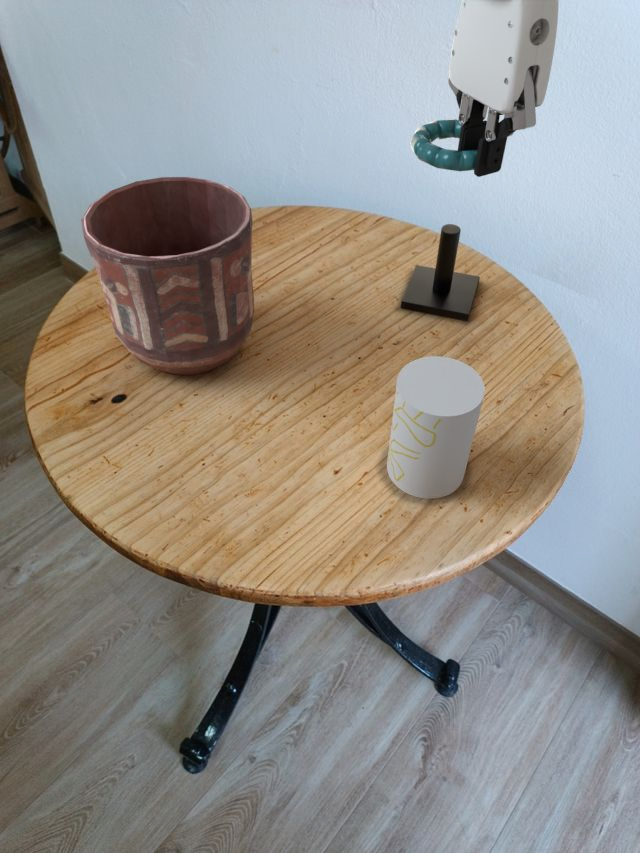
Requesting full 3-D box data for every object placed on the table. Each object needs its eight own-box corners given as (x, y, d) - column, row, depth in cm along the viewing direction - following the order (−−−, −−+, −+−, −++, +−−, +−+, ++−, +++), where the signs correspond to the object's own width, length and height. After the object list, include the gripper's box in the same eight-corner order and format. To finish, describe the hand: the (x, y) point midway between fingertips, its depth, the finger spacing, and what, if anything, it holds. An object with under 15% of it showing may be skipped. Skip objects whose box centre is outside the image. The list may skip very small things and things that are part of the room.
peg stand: (478, 283, 96) (492, 217, 88) (467, 321, 90) (481, 253, 82) (415, 271, 98) (423, 205, 90) (400, 308, 92) (408, 241, 84)
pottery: (200, 285, 95) (181, 159, 82) (288, 343, 87) (283, 212, 73) (89, 344, 86) (49, 213, 73) (175, 415, 78) (147, 281, 65)
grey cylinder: (375, 449, 74) (383, 366, 66) (443, 432, 76) (460, 349, 68) (404, 507, 69) (418, 424, 60) (477, 487, 71) (500, 405, 62)
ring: (506, 140, 79) (510, 122, 77) (494, 179, 72) (498, 161, 71) (421, 129, 81) (422, 111, 80) (401, 166, 74) (403, 148, 73)
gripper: (611, -15, 57) (555, 191, 71) (490, -58, 67) (461, 131, 80) (542, -3, 55) (497, 209, 68) (427, -49, 64) (407, 144, 78)
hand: (478, 165), depth 74 cm, fingers closed on ring, 2 cm apart
